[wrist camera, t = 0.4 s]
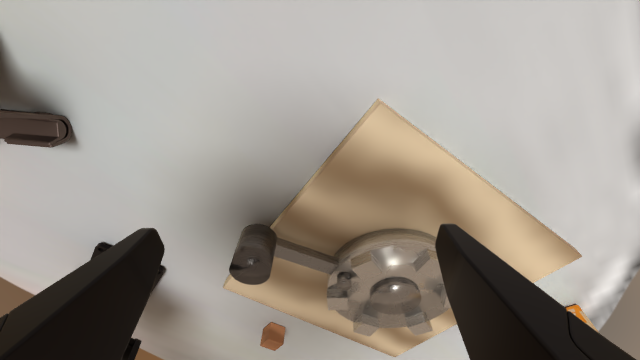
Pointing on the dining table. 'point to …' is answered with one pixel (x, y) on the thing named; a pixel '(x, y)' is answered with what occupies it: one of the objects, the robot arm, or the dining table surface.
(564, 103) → the dining table surface
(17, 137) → the portable electronic device stand
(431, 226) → the base plate
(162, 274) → the robot arm
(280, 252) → the gear crank handle
